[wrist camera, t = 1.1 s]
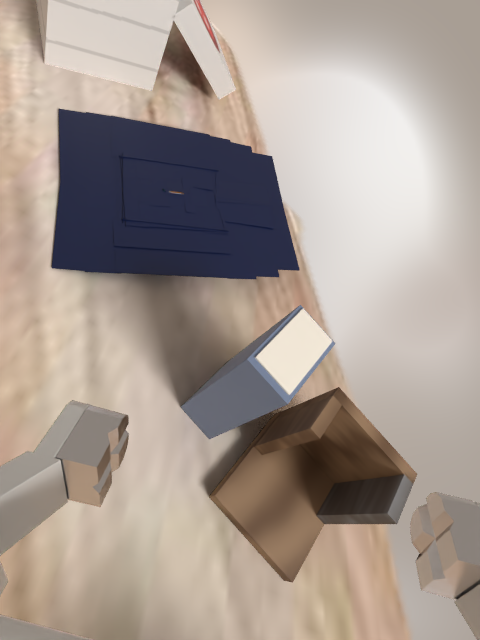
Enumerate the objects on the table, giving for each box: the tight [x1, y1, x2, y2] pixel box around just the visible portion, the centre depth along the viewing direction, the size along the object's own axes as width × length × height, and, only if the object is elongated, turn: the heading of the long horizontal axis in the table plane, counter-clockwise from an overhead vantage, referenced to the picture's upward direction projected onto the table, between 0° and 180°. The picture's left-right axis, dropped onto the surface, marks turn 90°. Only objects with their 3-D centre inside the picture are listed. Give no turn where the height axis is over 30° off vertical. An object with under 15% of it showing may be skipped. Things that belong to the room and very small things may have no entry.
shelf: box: [209, 387, 417, 582], centre depth 37 cm, size 11×12×12 cm
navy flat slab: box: [52, 109, 299, 279], centre depth 51 cm, size 24×30×4 cm
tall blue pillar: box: [181, 305, 335, 439], centre depth 37 cm, size 4×8×15 cm, turn 138°
